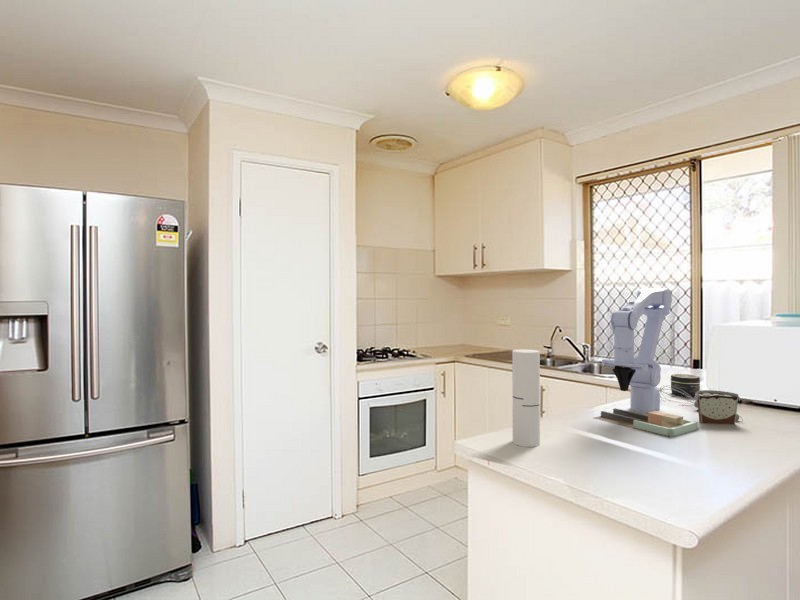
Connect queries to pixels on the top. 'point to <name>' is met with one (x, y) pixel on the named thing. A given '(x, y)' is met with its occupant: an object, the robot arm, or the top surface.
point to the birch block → (671, 420)
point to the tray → (666, 431)
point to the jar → (685, 384)
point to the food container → (717, 406)
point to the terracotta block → (655, 417)
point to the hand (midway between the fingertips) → (624, 390)
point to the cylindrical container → (526, 397)
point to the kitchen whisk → (688, 400)
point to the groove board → (625, 418)
